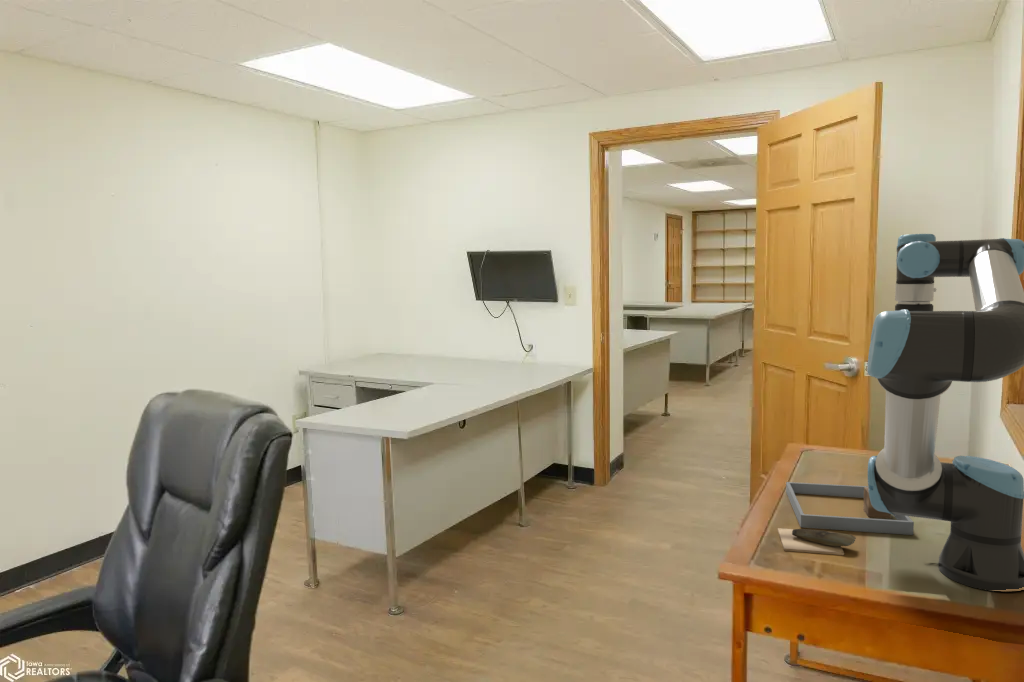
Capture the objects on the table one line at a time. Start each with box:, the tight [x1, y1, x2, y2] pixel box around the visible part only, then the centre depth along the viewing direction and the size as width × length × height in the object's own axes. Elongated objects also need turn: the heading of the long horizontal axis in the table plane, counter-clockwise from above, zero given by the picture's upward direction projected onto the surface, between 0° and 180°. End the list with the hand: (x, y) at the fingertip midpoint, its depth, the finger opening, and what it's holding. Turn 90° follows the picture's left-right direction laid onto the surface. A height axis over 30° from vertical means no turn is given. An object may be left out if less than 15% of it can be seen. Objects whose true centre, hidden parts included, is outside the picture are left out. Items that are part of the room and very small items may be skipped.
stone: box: [792, 528, 857, 547], centre depth 152 cm, size 13×5×2 cm, turn 57°
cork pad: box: [777, 527, 845, 556], centre depth 154 cm, size 12×12×1 cm
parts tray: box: [785, 481, 915, 536], centre depth 172 cm, size 26×24×3 cm
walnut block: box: [862, 487, 892, 519], centre depth 170 cm, size 5×5×6 cm
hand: (910, 395), depth 157 cm, fingers open, 13 cm apart
